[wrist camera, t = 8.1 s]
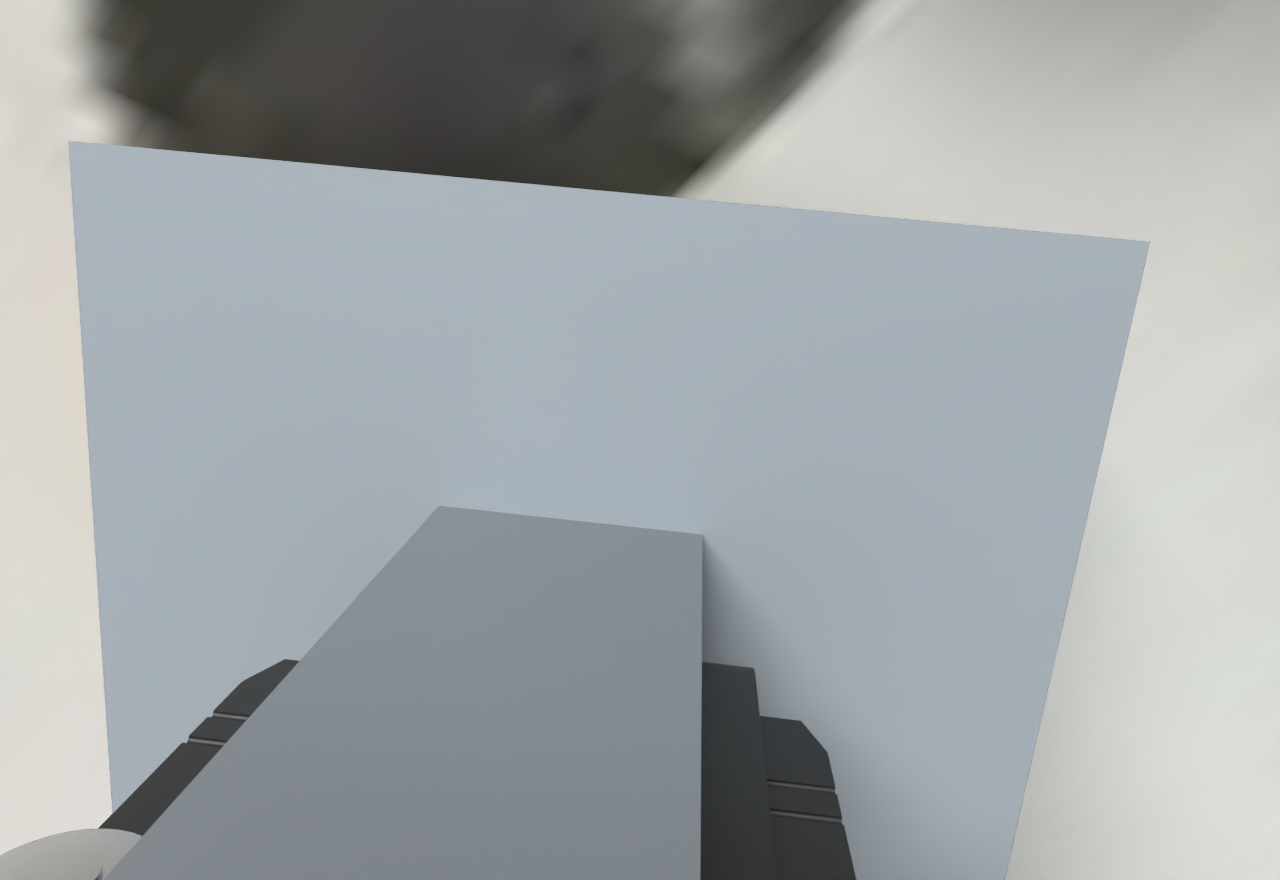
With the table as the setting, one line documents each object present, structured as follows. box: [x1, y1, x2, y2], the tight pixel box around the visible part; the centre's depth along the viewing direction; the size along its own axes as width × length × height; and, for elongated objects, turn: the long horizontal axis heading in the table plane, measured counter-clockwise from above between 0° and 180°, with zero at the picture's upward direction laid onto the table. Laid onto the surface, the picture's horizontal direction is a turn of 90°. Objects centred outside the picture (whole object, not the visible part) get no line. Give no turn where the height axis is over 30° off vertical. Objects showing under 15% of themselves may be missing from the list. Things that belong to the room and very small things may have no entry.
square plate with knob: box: [69, 141, 1150, 880], centre depth 12 cm, size 11×11×15 cm
